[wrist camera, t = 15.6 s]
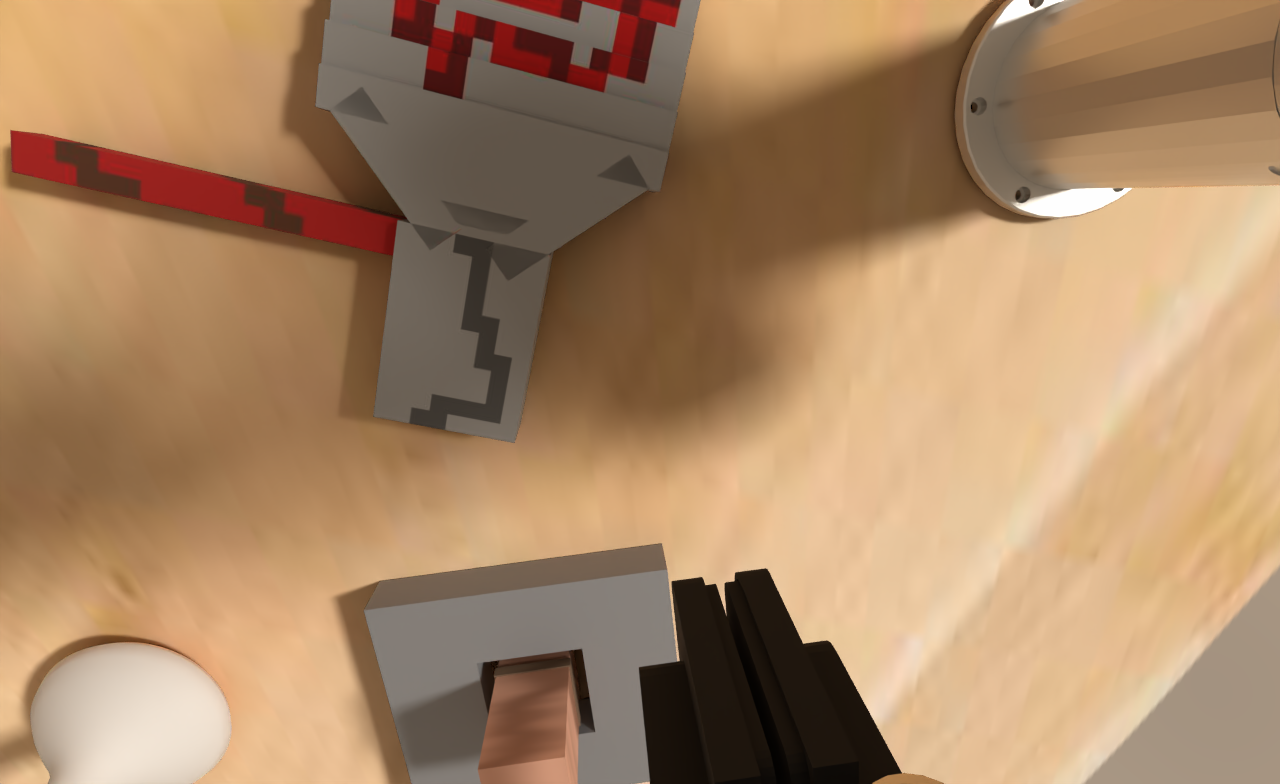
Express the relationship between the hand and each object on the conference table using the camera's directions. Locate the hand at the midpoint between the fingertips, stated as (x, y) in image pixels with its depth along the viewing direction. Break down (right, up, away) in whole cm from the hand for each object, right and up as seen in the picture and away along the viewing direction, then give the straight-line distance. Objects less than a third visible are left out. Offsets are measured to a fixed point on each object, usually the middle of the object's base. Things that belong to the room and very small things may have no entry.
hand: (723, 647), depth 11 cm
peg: (-8, -14, +32) cm, 36 cm away
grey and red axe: (-16, +16, +23) cm, 32 cm away
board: (-8, -14, +32) cm, 36 cm away
